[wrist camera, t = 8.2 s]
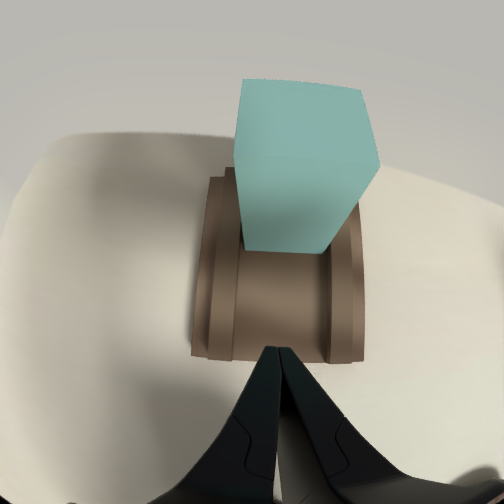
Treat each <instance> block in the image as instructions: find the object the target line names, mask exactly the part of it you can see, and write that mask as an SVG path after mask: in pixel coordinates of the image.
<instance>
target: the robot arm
mask: <svg viewBox="0 0 504 504" xmlns="http://www.w3.org/2000/svg"><path fill="white" fill-rule="evenodd" d="M276 454H277V456H278V465H279V474H280V483H281V492H282V501H283V504H487V503H489V502H490V501H492V500H493V499H495V498H496V497H498V496H499V495H501V494H502V493H503V492H504V480H503V479H499V478H495V477H491V478H489V479H487V480H485V481H484V482H482V483H480V484H478V485H474V486H458V485H451V484H445V483H439V482H434V481H429V480H424V479H419V478H415V477H411V476H409V475H407V474H405V473H403V472H401V471H400V470H398V469H397V468H396V467H395V466H394V465H393V464H391V463H390V462H389V461H388V460H387V459H386V458H385V457H384V456H383V455H382V454H380V453H379V452H378V451H377V450H376V449H375V448H374V447H373V446H372V445H371V444H370V443H369V442H368V441H367V440H366V439H365V438H364V437H363V436H362V435H361V434H360V433H359V432H358V431H357V430H356V428H355V427H354V426H353V425H352V424H351V423H350V421H349V420H348V419H347V418H346V417H344V414H343V413H342V412H341V411H340V409H339V408H338V407H337V406H336V404H335V403H334V402H333V401H332V399H331V398H330V397H329V396H328V394H327V393H326V392H325V391H324V389H323V388H322V387H321V386H320V384H319V383H318V382H317V381H316V379H315V378H314V377H313V375H312V374H311V373H310V372H309V370H308V369H307V368H306V367H305V365H304V364H303V363H302V361H301V360H300V359H299V358H298V356H297V355H296V354H295V352H294V351H293V350H292V349H291V348H290V347H282V346H279V347H277V346H269V345H266V346H265V347H264V349H263V351H262V353H261V355H260V357H259V359H258V361H257V363H256V365H255V367H254V369H253V371H252V373H251V375H250V377H249V379H248V381H247V383H246V385H245V387H244V389H243V391H242V393H241V395H240V397H239V399H238V401H237V403H236V405H235V406H234V408H233V410H232V412H231V415H230V416H229V417H228V419H227V421H226V423H225V425H224V426H223V428H222V430H221V431H220V433H219V435H218V436H217V438H216V439H215V440H214V442H213V443H212V444H211V446H210V447H209V448H208V450H207V451H206V452H205V453H204V455H203V456H202V457H201V458H200V459H199V460H198V462H197V463H196V464H195V465H194V466H193V468H192V469H191V470H190V471H189V472H188V473H187V474H186V476H185V477H184V478H183V479H182V480H181V481H180V482H179V483H178V484H176V485H175V486H174V487H173V488H172V489H170V490H169V491H167V492H165V493H164V494H162V495H161V496H159V497H157V498H156V499H154V500H152V501H151V502H149V503H147V504H280V503H278V502H276V501H274V500H273V485H274V482H273V481H274V476H275V465H276ZM0 504H12V503H10V502H9V501H8V500H6V499H5V498H3V497H2V496H1V495H0ZM67 504H76V503H72V502H70V503H67ZM495 504H504V498H503V499H501V500H500V501H498V502H497V503H495Z"/></svg>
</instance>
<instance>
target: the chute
mask: <svg viewBox="0 0 504 504" xmlns="http://www.w3.org/2000/svg"><path fill="white" fill-rule="evenodd" d="M364 337H365V294H364V266H363V249H362V235H361V223H360V213H359V204H358V202H357V204H356V205H355V207H354V208H353V210H352V211H351V213H350V214H349V216H348V217H347V219H346V220H345V222H344V223H343V225H342V226H341V228H340V229H339V231H338V232H337V234H336V235H335V236H334V238H333V239H332V241H331V242H330V244H329V245H328V246H327V248H326V249H325V251H324V252H323V254H309V253H289V252H268V251H248V250H245V245H244V238H243V230H242V222H241V214H240V206H239V198H238V191H237V183H236V175H235V168H233V167H226V169H225V177H210V183H209V190H208V197H207V204H206V212H205V219H204V227H203V235H202V243H201V252H200V260H199V270H198V279H197V289H196V300H195V311H194V322H193V335H192V349H191V356H196V357H205V358H207V359H210V360H220V361H232V360H241V361H258V359H259V357H260V355H261V353H262V351H263V349H264V347H265V346H266V345H269V346H277V347H279V346H282V347H290V348H291V349H292V350H293V351H294V352H295V354H296V355H297V356H298V358H299V359H300V360H301V361H302V363H328V364H350V363H352V362H360V361H364Z"/></svg>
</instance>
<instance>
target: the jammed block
mask: <svg viewBox="0 0 504 504" xmlns="http://www.w3.org/2000/svg"><path fill="white" fill-rule="evenodd" d="M233 158H234V167H235V175H236V183H237V191H238V198H239V206H240V214H241V222H242V230H243V238H244V245H245V250H248V251H268V252H289V253H309V254H323V252H324V251H325V249H326V248H327V246H328V245H329V244H330V242H331V241H332V239H333V238H334V236H335V235H336V234H337V232H338V231H339V229H340V228H341V226H342V225H343V223H344V222H345V220H346V219H347V217H348V216H349V214H350V213H351V211H352V210H353V208H354V207H355V205H356V204H357V202H358V201H359V199H360V198H361V196H362V195H363V193H364V192H365V190H366V188H367V187H368V185H369V184H370V182H371V181H372V179H373V177H374V176H375V174H376V173H377V171H378V170H379V168H380V162H379V158H378V153H377V149H376V145H375V140H374V136H373V132H372V128H371V124H370V120H369V117H368V113H367V110H366V106H365V102H364V99H363V96H362V93H361V90H358V89H352V88H346V87H340V86H333V85H326V84H318V83H309V82H297V81H284V80H266V79H243V81H242V88H241V96H240V104H239V111H238V118H237V127H236V134H235V142H234V150H233Z"/></svg>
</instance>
